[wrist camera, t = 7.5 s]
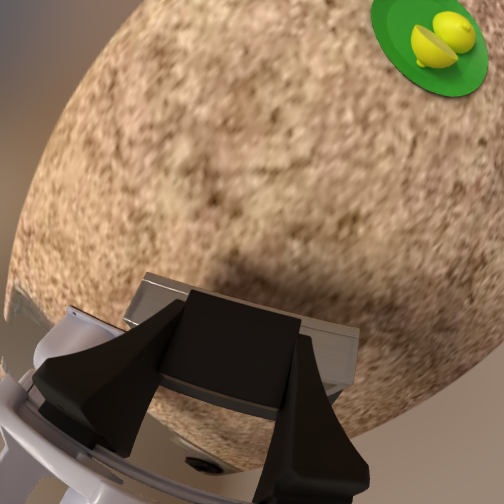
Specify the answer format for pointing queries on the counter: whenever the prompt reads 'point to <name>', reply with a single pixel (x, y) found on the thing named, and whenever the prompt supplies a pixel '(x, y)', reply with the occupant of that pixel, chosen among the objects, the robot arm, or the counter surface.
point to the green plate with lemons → (432, 43)
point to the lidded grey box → (241, 343)
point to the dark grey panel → (227, 400)
